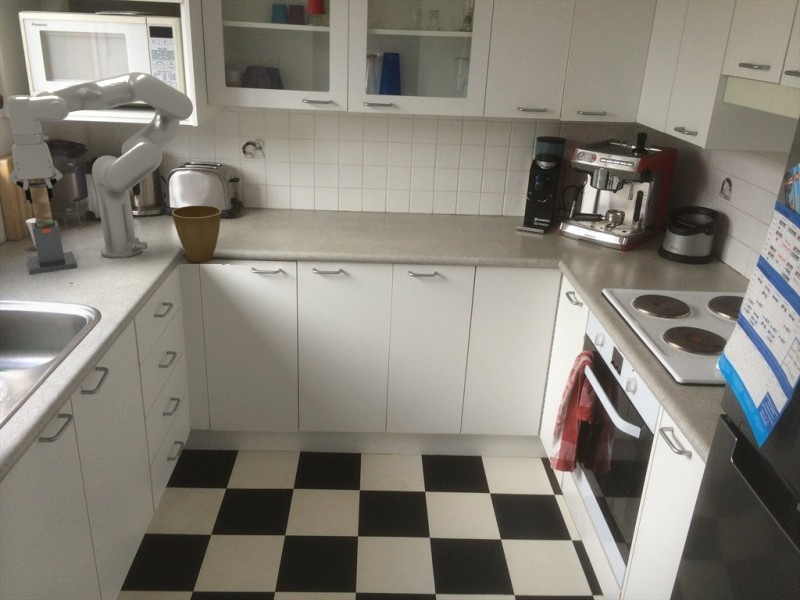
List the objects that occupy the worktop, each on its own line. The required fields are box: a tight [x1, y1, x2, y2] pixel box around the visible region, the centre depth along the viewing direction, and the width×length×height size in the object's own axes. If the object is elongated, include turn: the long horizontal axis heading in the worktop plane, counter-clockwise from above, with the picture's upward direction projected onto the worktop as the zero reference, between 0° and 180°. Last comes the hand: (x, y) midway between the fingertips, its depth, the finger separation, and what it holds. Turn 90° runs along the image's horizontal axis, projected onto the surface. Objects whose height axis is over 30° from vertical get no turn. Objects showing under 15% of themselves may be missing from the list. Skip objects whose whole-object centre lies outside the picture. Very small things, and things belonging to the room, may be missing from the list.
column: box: [28, 181, 54, 227], centre depth 199 cm, size 4×4×18 cm
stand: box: [26, 219, 78, 275], centre depth 203 cm, size 13×13×13 cm
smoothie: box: [25, 217, 36, 249], centre depth 217 cm, size 6×6×14 cm
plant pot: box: [171, 205, 222, 263], centre depth 211 cm, size 15×15×16 cm
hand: (40, 200), depth 197 cm, fingers closed on column, 4 cm apart
